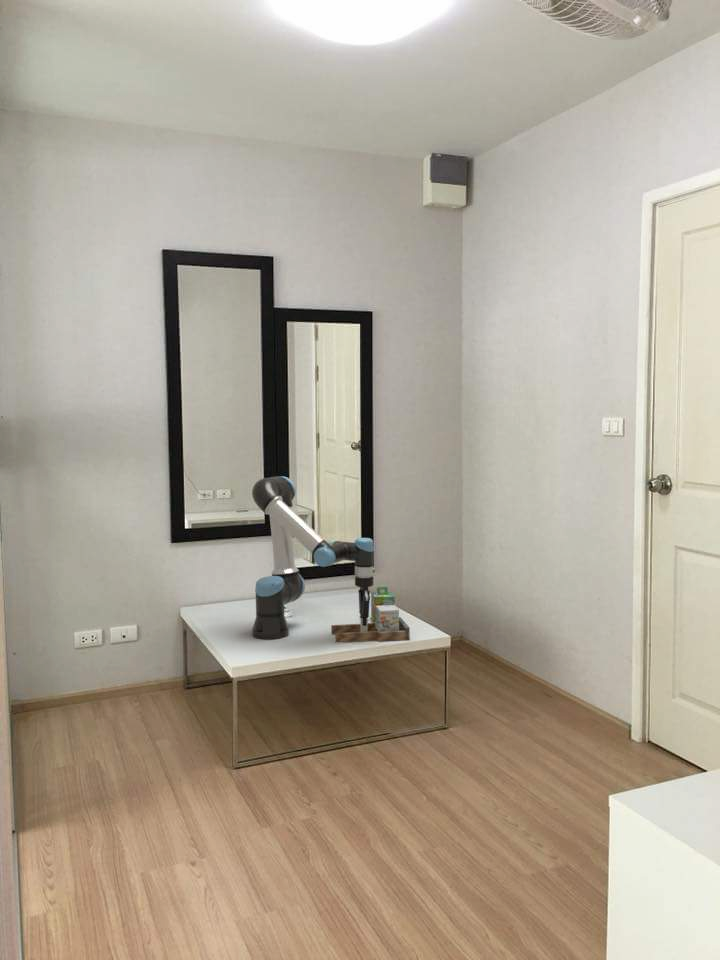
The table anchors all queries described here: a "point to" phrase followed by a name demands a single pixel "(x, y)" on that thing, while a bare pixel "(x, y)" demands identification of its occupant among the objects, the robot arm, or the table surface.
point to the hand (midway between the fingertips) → (363, 632)
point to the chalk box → (380, 600)
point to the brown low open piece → (369, 633)
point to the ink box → (387, 618)
